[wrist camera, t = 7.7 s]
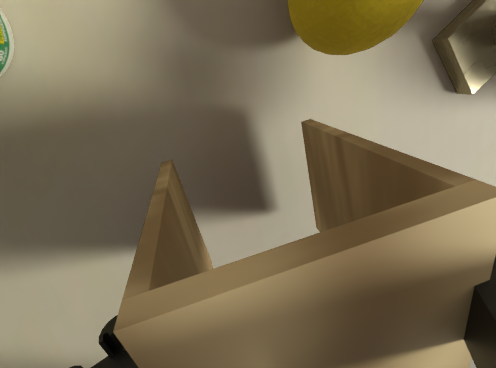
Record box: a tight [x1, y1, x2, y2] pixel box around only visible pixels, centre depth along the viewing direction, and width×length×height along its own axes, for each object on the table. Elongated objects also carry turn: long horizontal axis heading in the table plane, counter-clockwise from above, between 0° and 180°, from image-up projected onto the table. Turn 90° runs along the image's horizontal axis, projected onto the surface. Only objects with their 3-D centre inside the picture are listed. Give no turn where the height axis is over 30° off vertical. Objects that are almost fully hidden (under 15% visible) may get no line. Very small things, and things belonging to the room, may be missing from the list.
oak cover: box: [113, 119, 496, 368], centre depth 12 cm, size 9×8×11 cm
